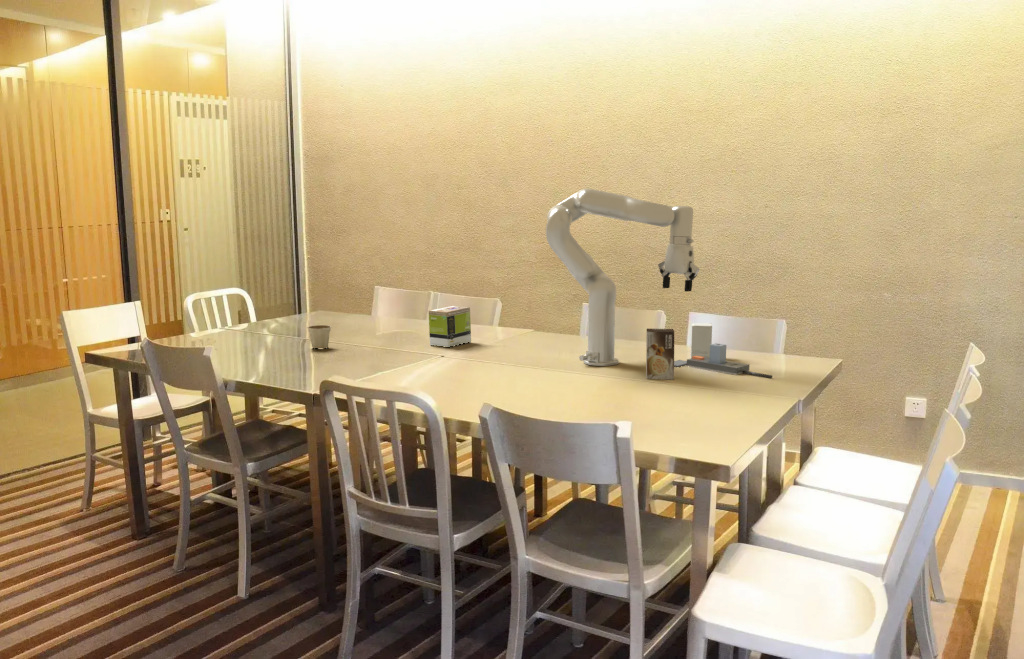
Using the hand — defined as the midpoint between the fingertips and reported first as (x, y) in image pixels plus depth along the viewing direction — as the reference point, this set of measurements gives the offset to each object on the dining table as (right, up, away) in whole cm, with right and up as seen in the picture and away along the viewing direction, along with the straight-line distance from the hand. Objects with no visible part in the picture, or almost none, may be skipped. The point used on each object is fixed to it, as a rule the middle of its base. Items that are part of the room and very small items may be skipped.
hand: (676, 289), depth 300 cm
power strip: (+17, -28, -11) cm, 35 cm away
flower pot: (-135, -22, +35) cm, 141 cm away
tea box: (-84, -20, +42) cm, 96 cm away
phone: (+1, -27, +1) cm, 27 cm away
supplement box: (+11, -25, +12) cm, 30 cm away
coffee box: (-10, -30, -20) cm, 37 cm away
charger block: (+13, -27, -7) cm, 31 cm away
